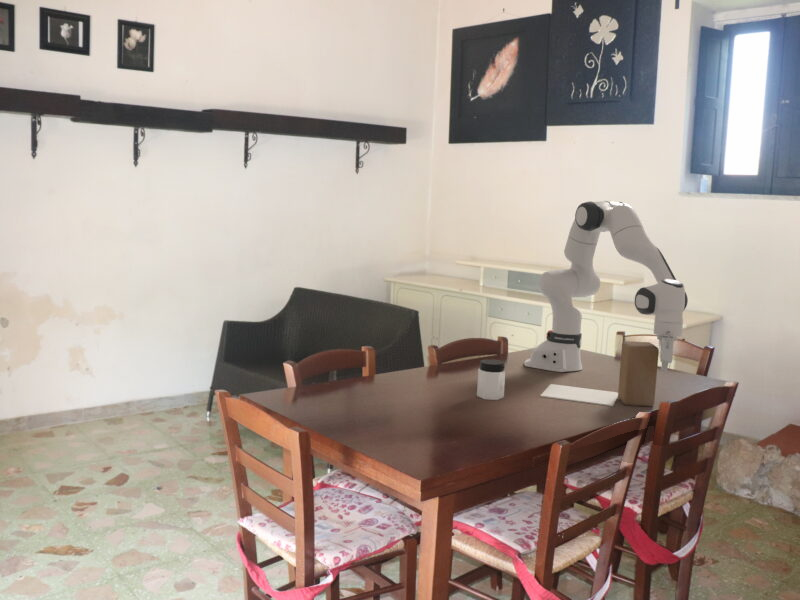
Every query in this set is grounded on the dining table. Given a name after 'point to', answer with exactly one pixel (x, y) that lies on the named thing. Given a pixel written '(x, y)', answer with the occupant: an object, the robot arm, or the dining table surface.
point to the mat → (580, 395)
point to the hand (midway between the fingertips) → (664, 370)
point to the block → (638, 373)
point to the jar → (491, 379)
